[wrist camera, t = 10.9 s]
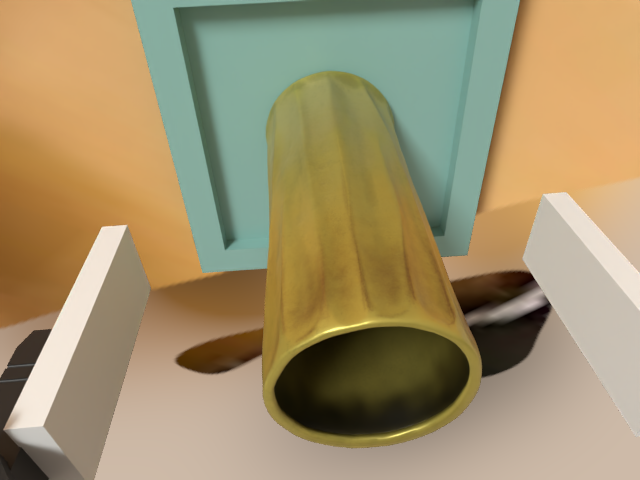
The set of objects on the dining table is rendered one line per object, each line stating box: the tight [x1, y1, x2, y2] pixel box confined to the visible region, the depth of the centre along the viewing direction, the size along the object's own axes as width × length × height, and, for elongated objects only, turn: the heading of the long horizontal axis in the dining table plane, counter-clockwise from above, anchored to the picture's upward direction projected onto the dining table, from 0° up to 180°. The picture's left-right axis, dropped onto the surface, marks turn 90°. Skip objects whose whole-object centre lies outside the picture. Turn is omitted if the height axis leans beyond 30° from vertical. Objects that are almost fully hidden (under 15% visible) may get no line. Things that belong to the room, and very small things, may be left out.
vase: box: [262, 71, 482, 448], centre depth 17 cm, size 6×6×14 cm
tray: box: [131, 0, 520, 273], centre depth 22 cm, size 15×15×2 cm
